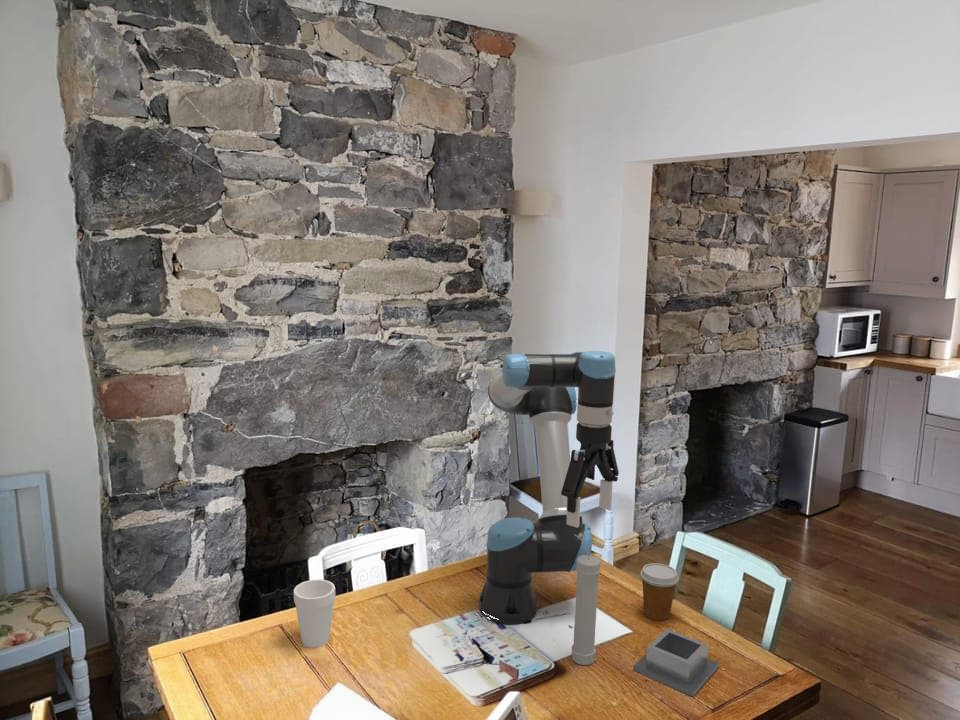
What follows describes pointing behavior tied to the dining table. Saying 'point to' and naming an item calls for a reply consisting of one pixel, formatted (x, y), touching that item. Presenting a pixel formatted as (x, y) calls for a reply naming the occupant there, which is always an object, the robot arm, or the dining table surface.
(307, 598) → the foam cup
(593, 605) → the pipe
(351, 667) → the dining table surface
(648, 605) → the disposable coffee cup
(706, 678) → the pipe socket
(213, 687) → the dining table surface
